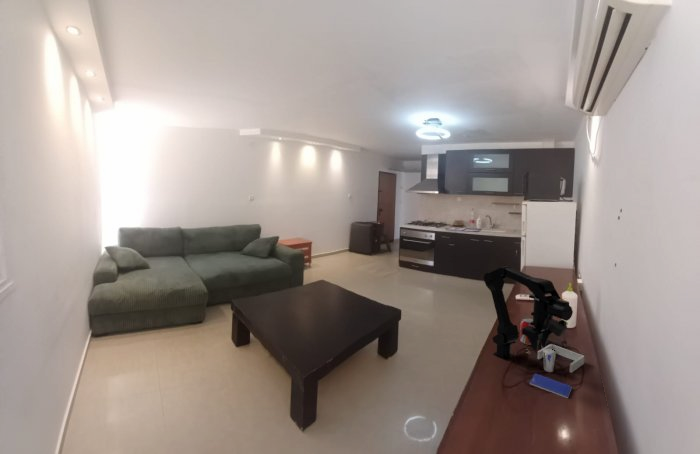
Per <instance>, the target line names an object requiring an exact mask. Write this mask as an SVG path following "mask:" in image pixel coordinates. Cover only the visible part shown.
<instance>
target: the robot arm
mask: <svg viewBox="0 0 700 454" xmlns="http://www.w3.org/2000/svg"><path fill="white" fill-rule="evenodd" d="M507 278H509V279H510V280H513V281H514V282H515V283H516V282H517V283H518V284H521V285H523V286H525V287H526V288H527V289H528V291H530V292H531V294H530V295H528V297H529V298H531V299H533V308H532V310H533V311H531V312H530V316H532V319H533V322H531V325H533V326H534V327H531V326H527V327H525V328H523V329H522V334H523V335H526V336H527V337H528V339H529V341H530V343H531V345H530V346H531V348H532V350H533V351H537V352H538V348H539V344H540V342H541V345H542V347H546V346H547V343H548V341H549V338H550V336H551V334H554V335H555V336H557V337H561V336H562V335H564V333H565V332H566V330H567V331H568V325H567V321H569V320H571V318H572V317H573V313H574V311H573V308H572V306H570V302H569V301H564V300H561V297H560V295H559V293H558V292H557V290H556V288H555V286H554V283H553V282H552V280H549V279H544V278H542V277H541V278H539V277H533V276H531V275H528V274H527V273H524V272H522V271H519V270H518V269H516V268H512V266H509V265H506V266H500V267H498V268H496V269H495V270H492V271H490V272H485V273H484V275H483V280H484V284H485V286H486V288H487V289H488V290H489V291H490V293H491V296H492V300H493V301H492V302H493V305H494V309H495V313H496V317H497V320H498V324H497V328H496V332H497V334H496V335H494V336H492V342H493V343H494V344H496V351H495V352H493V355H494V356H496V357H498V358H501V359H503V360H505V361H507V360H509V359H512V358H514V354H513V353H512V345H513V344H516V342H517V341H518V339H520V331H519V329H518V326H517V324H513V322H512V321H511V319H510V318H511V317H510V314H509V311H508V307H507V303H506V299H505V295H504V291H503V289H504V284H505V279H507ZM553 317H555V318H557V319H560V320H557V319H556V320H555V319H554V318H553Z"/></svg>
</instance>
